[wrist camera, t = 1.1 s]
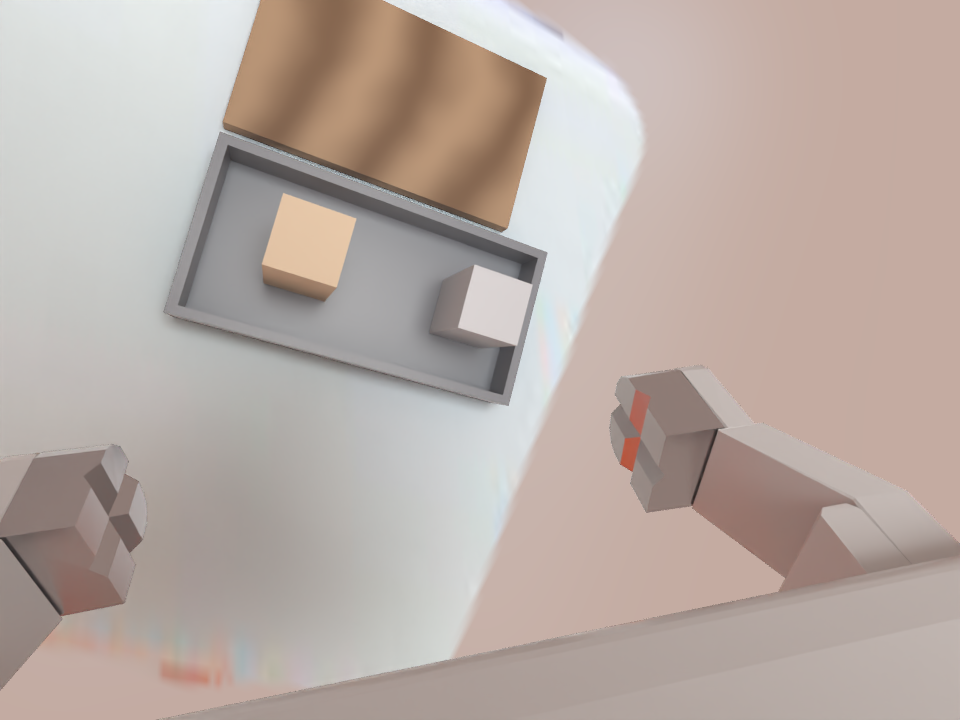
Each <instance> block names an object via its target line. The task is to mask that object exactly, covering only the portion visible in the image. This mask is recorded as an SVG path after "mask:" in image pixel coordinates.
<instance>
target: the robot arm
mask: <svg viewBox="0 0 960 720" xmlns="http://www.w3.org/2000/svg"><path fill="white" fill-rule="evenodd" d="M615 396H616V397H617V399H618V401H619V402H620V405H619V406H618V407H617V408H616V409H615V410H614V412H612V414H611V420H610V427H609V428H610V437H611V444H612V447H613V450H614V453H615V455H616V457H617V459H618V461H619V463H620V465H622V466H624V467H625V468H627V469H628V470H630V471H632V472H633V473H632V477H631V482H630V484H631V486H632V487H633V489H634V491H635V493H636V495H637V497H638V499H639V500H640V502H641V504H642V506H643V508H644V510H645V511H646V512H647V513H648V512H654V511H661V510H667V509H675V508H682V507H689V506H693V507H692V509H694V510H695V511H696V512H698V513H699V514H700V515H702V516H703V517H704V518H706V519H707V520H708V521H710V522H711V523H712V524H714V525H715V526H716V527H718V528H719V529H720V530H722V531H723V532H724V533H726V534H727V535H729V536H730V537H731V538H732V539H734V540H735V541H737V542H738V543H739V544H740V545H742V546H743V547H744V548H746V549H747V550H748V551H750V552H751V553H753V554H754V555H755V556H757V557H758V558H759V559H761V560H762V561H763V562H765V563H766V564H767V565H769V566H770V567H771V568H773V569H774V570H775V571H777V572H778V573H779V574H781V575H782V576H783V577H785V580H784V582H783V583H782V585H781V587H780V589H779V591H778V592H775V593H771V594H766V595H761V596H756V597H751V598H746V599H742V600H737V601H732V602H727V603H722V604H718V605H712V606H707V607H702V608H698V609H693V610H688V611H683V612H679V613H674V614H669V615H663V616H659V617H654V618H649V619H644V620H639V621H634V622H630V623H625V624H620V625H615V626H610V627H605V628H600V629H596V630H591V631H586V632H581V633H576V634H571V635H567V636H562V637H557V638H553V639H547V640H543V641H538V642H533V643H528V644H523V645H518V646H513V647H508V648H504V649H499V650H494V651H489V652H485V653H479V654H475V655H470V656H465V657H460V658H455V659H450V660H445V661H441V662H436V663H431V664H426V665H421V666H416V667H411V668H406V669H402V670H397V671H392V672H387V673H382V674H377V675H372V676H368V677H363V678H358V679H353V680H348V681H343V682H338V683H334V684H329V685H324V686H319V687H314V688H309V689H304V690H299V691H295V692H290V693H285V694H280V695H275V696H270V697H265V698H261V699H256V700H251V701H246V702H241V703H236V704H232V705H226V706H222V707H217V708H212V709H208V710H202V711H197V712H193V713H188V714H183V715H178V716H173V717H168V718H163V719H158V720H960V543H959V542H958V541H957V540H956V539H955V538H954V537H953V536H952V535H951V534H950V533H949V532H948V531H947V530H946V529H945V528H944V527H943V526H942V525H941V524H940V523H939V522H938V521H937V520H936V519H935V518H934V517H933V516H932V515H931V514H930V513H929V512H928V511H927V510H926V509H925V508H924V507H923V506H922V505H921V504H920V503H919V502H918V501H917V500H916V499H915V498H914V497H913V496H912V495H911V494H910V493H909V492H908V491H907V490H905V489H903V488H900V487H898V486H896V485H894V484H892V483H890V482H888V481H886V480H884V479H882V478H879V477H877V476H875V475H873V474H871V473H869V472H867V471H865V470H862V469H860V468H858V467H856V466H854V465H851V464H850V463H848V462H845V461H843V460H841V459H839V458H837V457H835V456H833V455H831V454H829V453H826V452H824V451H822V450H820V449H818V448H816V447H814V446H811V445H809V444H807V443H805V442H803V441H801V440H799V439H797V438H795V437H793V436H790V435H788V434H786V433H784V432H782V431H780V430H777V429H775V428H773V427H771V426H769V425H767V424H765V423H758V424H755V423H754V422H753V421H752V419H751V418H750V417H749V416H748V415H747V413H746V412H745V411H744V410H743V409H742V408H741V406H740V405H739V404H738V403H737V402H736V401H735V399H734V398H733V397H732V396H731V395H730V393H729V392H728V391H727V390H726V389H725V388H724V387H723V385H722V384H721V383H720V382H719V381H718V379H717V378H716V377H715V376H714V375H713V373H712V372H711V371H710V370H709V369H708V368H707V367H705V366H703V365H696V366H689V367H682V368H676V369H674V370H665V371H658V372H651V373H644V374H637V375H630V376H623V377H621V378H620V379H619V381H618V383H617V386H616V392H615ZM128 462H129V461H128V459H127V458H126V456H125V454H124V452H123V450H122V449H121V447H120V446H117V445H114V444H110V445H101V446H92V447H83V448H74V449H65V450H56V451H47V452H42V453H35V454H26V455H17V456H8V457H4V458H3V459H1V460H0V690H1V689H2V688H3V687H4V686H5V685H6V683H7V682H8V681H9V680H10V679H11V678H12V676H13V675H14V674H15V673H16V672H17V671H18V669H19V668H20V667H21V666H22V665H23V664H24V663H25V662H26V660H27V659H28V658H29V657H30V656H31V655H32V653H33V652H34V651H35V650H36V649H37V648H38V647H39V645H40V644H41V643H42V642H43V641H44V640H45V639H46V637H47V636H48V635H49V634H50V633H51V632H52V630H53V629H54V628H55V627H56V626H57V625H58V624H59V622H60V621H61V620H62V617H61V616H64V615H69V614H74V613H79V612H84V611H89V610H94V609H99V608H104V607H109V606H114V605H119V604H124V603H125V600H126V596H127V593H128V589H129V586H130V582H131V579H132V576H133V572H134V569H135V563H134V561H133V559H132V557H131V556H130V554H129V553H130V552H131V551H132V550H133V549H134V548H135V547H136V546H137V545H138V544H139V543H140V542H141V541H142V540H143V537H144V533H145V529H146V525H147V504H146V499H145V495H144V492H143V490H142V487H141V485H140V483H139V481H137V480H135V479H133V478H131V477H130V476H128V475H126V474H125V471H126V468H127V465H128Z"/></svg>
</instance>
